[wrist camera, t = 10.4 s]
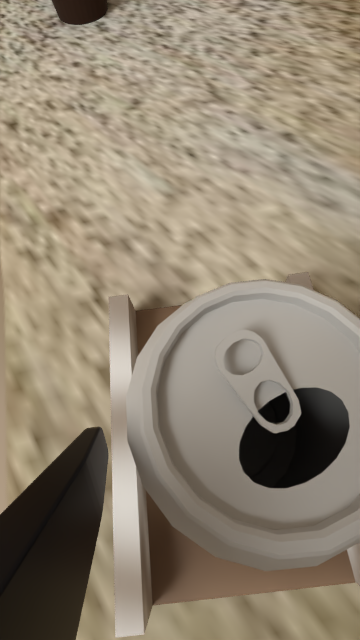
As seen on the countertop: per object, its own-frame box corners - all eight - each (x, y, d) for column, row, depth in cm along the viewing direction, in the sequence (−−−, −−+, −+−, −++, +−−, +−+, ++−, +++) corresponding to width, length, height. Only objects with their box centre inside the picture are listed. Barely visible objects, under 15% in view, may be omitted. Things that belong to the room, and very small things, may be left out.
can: (210, 529, 16) (239, 720, 5) (140, 406, 19) (56, 349, 8) (320, 446, 17) (540, 449, 6) (239, 341, 20) (292, 210, 9)
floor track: (369, 571, 16) (413, 604, 13) (132, 598, 16) (115, 637, 13) (292, 297, 22) (308, 271, 19) (121, 318, 22) (108, 296, 19)
